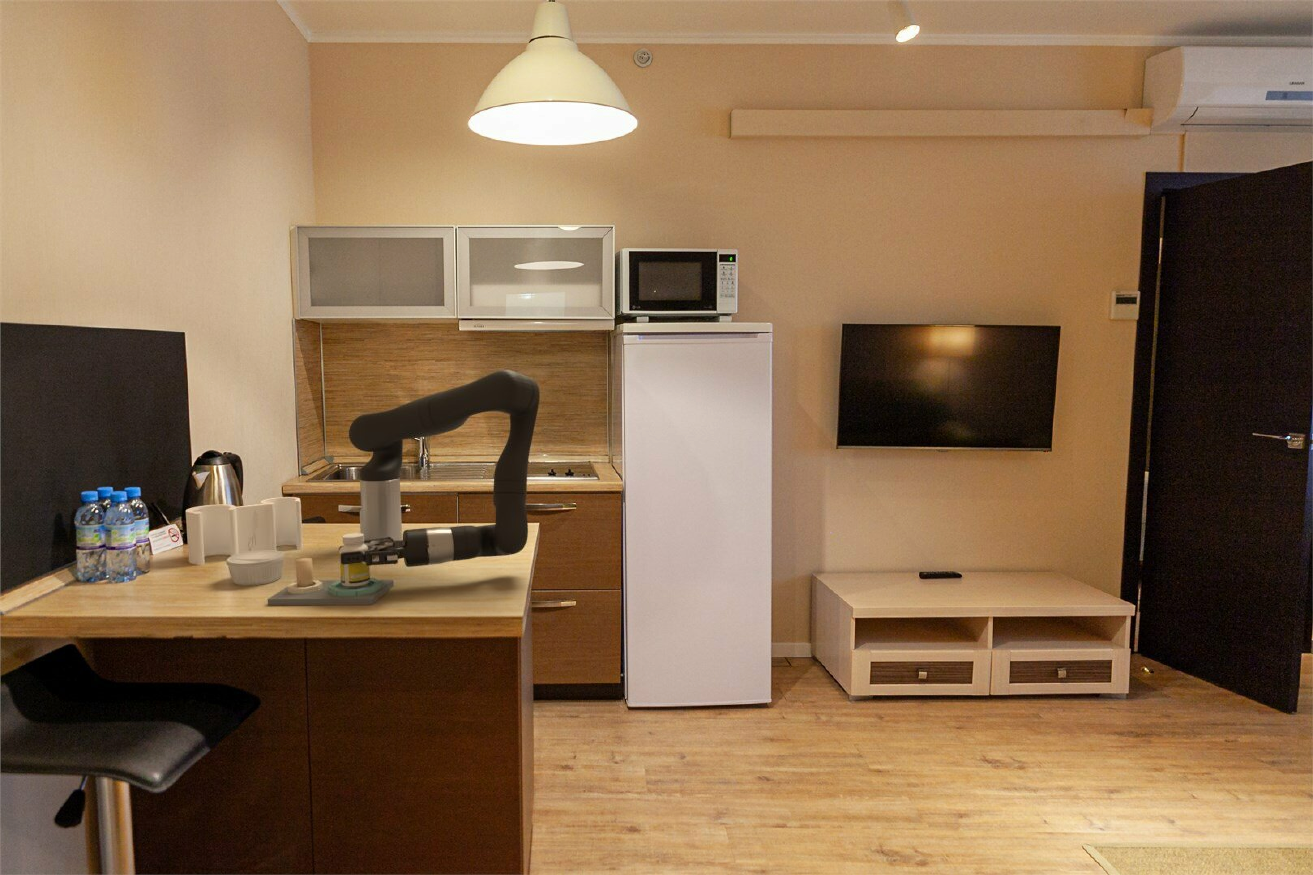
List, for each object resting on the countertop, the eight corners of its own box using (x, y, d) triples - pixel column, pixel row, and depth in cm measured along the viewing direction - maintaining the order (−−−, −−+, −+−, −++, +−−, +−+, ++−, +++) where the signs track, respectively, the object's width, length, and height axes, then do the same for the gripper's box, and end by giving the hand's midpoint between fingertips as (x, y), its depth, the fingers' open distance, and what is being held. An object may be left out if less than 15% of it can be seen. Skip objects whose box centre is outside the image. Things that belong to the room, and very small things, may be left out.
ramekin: (228, 590, 172) (226, 565, 171) (227, 577, 182) (225, 553, 181) (287, 583, 177) (286, 558, 177) (283, 570, 187) (282, 547, 186)
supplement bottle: (375, 580, 169) (373, 533, 168) (358, 588, 164) (355, 539, 163) (353, 578, 171) (350, 531, 170) (335, 586, 166) (332, 537, 165)
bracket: (294, 542, 214) (292, 495, 213) (307, 549, 207) (305, 500, 206) (184, 558, 198) (181, 507, 197) (194, 566, 191) (190, 514, 190)
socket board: (267, 605, 162) (265, 568, 161) (297, 586, 174) (295, 551, 174) (372, 604, 161) (370, 568, 161) (393, 585, 174) (392, 551, 174)
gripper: (422, 521, 179) (337, 529, 172) (432, 535, 165) (340, 544, 159) (424, 556, 179) (339, 565, 173) (434, 572, 166) (342, 583, 160)
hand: (340, 555), depth 166 cm, fingers closed on supplement bottle, 5 cm apart
